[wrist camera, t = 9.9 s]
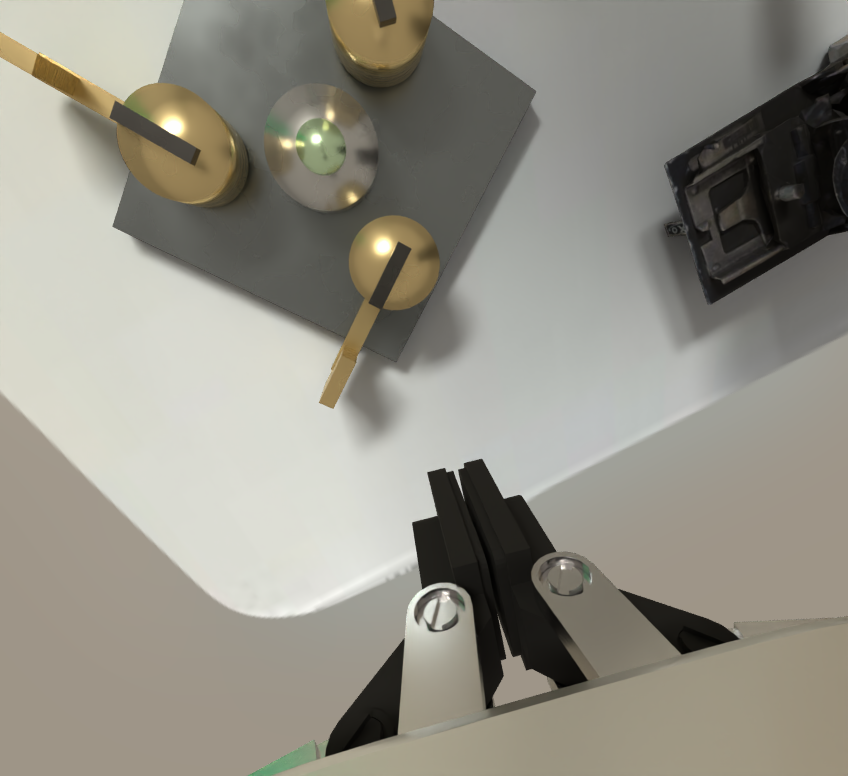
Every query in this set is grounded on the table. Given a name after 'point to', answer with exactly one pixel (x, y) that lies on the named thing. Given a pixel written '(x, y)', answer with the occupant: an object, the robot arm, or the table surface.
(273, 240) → the levelling plate
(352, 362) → the foot screw
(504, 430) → the table surface
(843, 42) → the vintage camera
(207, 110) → the foot screw
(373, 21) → the foot screw
